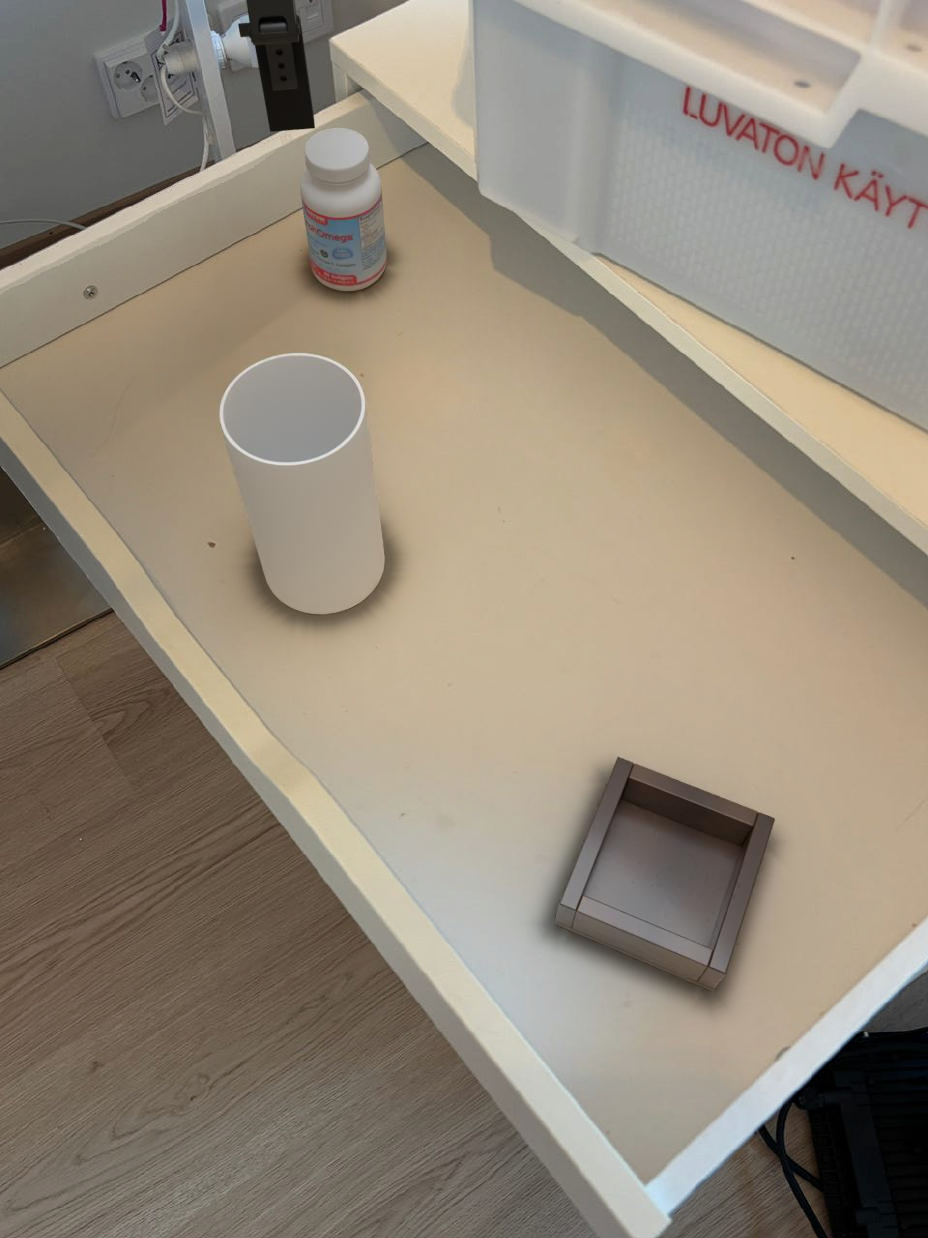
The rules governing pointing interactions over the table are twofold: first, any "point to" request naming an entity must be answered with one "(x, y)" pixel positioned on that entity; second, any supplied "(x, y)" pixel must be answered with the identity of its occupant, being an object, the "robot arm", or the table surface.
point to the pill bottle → (343, 210)
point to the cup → (306, 479)
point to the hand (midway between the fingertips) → (288, 57)
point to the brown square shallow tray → (666, 873)
